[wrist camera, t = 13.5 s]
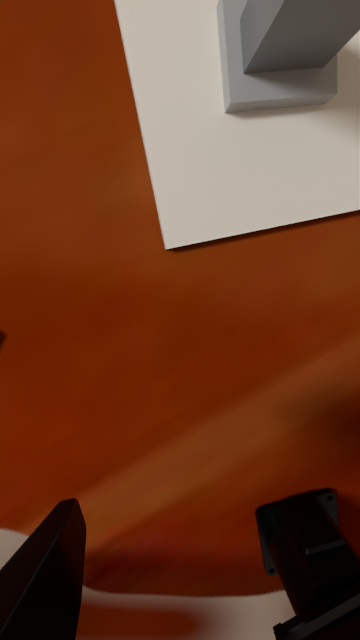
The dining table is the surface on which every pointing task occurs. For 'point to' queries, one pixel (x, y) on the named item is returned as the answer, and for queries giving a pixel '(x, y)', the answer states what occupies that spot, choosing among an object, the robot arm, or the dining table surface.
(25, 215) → the dining table surface
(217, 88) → the board
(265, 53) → the gray pillar
